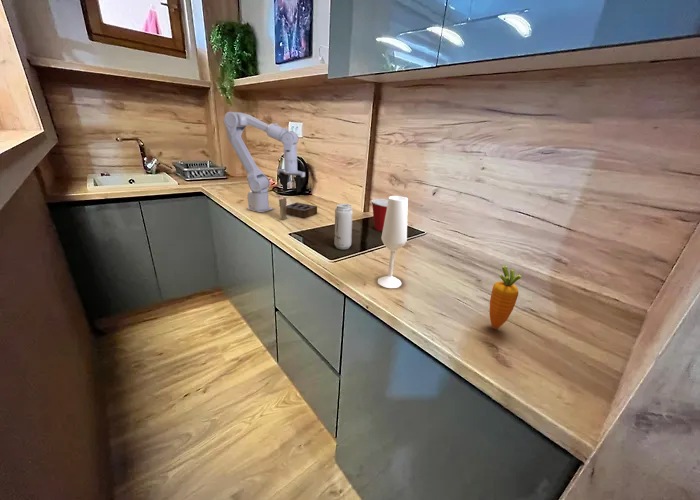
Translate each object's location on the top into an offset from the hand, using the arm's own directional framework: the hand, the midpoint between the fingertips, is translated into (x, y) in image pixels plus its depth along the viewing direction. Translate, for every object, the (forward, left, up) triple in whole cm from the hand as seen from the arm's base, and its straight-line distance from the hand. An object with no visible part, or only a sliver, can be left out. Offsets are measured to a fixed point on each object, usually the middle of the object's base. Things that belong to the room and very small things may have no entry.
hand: (291, 190), depth 140 cm
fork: (+3, -10, -10) cm, 15 cm away
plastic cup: (+45, +3, -11) cm, 46 cm away
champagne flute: (+65, -38, -11) cm, 76 cm away
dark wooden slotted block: (+4, +1, -10) cm, 11 cm away
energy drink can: (+41, -23, -11) cm, 48 cm away
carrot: (+93, -45, -11) cm, 104 cm away
